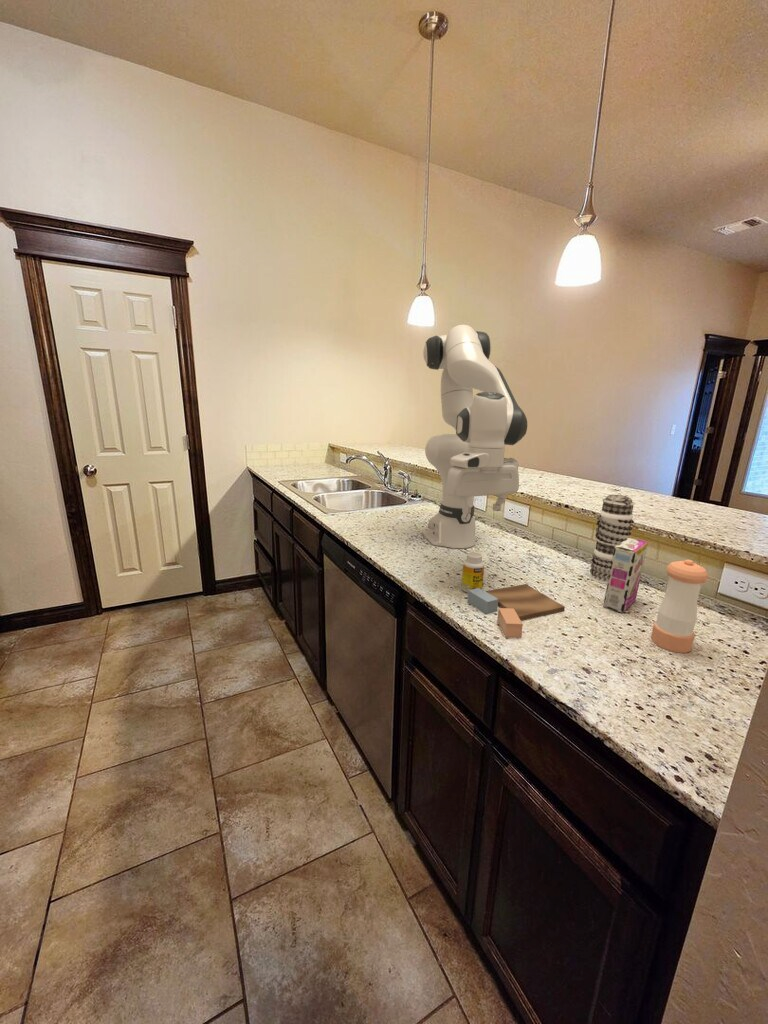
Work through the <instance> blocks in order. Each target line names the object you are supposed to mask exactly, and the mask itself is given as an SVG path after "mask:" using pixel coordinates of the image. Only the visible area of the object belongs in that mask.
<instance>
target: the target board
mask: <svg viewBox="0 0 768 1024" xmlns="http://www.w3.org/2000/svg"><path fill="white" fill-rule="evenodd" d="M484 591H485V592H487V593H489V594H491V595H492V596H494V597H496V598H498V608H513V609H514V610H515V612H516V613H517V615H518V617H519V618H520V620H521V621H525V620H530V619H534V618H538V617H542V616H543V617H544V616H548V615H552V614H557V613H561V612H565V609H566V607H565V605H564V604H563V605H562V604H561V603H559V602H558V601H556V600H554V599H552V598H550V597H549V596H547V594H544V593H542V592H541V591H539V590H537V589H535V588H534V587H532V586H530V585H529V584H527V583H523V584H518V585H511V586H507V587H500V588H495V589H490V590H489V589H488V590H484Z"/></svg>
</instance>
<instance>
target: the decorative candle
mask: <svg viewBox="0 0 768 1024" xmlns="http://www.w3.org/2000/svg"><path fill="white" fill-rule="evenodd" d="M634 505H636V503H635V502H633V499H632V498H631V497H630V496H628V495H623V494H609V495H607V496H606V497H605V498H602V508H601V510H600V513H599V515H598V516H597V518H596V519H597V521H596V525H597V527H596V529H595V531H596V532H595V534H594V536H595V538H594V539H595V541H596V543H595V547H594V549H593V550H594V551H593V554H592V555H591V556H592V559H591V562H592V563H591V564H590V569H589V575H588V576H589V579H591V580H592V581H595V582H597V583H599V584H604V585H607V584H608V578H609V573H610V568H611V563H612V558H613V553H614V547H615V546H616V545H618V544H620V543H621V542H623V541H624V540H626V539H627V538H628V537H629V536H631V535H632V532H630V531H632V530H633V527H632V526H631V525H632V524H634V523H635V521H634V520H633V518H634V517H633V509H634ZM630 524H631V525H630Z"/></svg>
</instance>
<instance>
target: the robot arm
mask: <svg viewBox="0 0 768 1024" xmlns="http://www.w3.org/2000/svg"><path fill="white" fill-rule="evenodd" d="M491 352H492V342H491V340H490V336H489V335H488V333H487V332H484V331H478V330H476V331H475V330H474V328H473V327H471V325H467V324H458V325H456V326H454V327H452V328H451V329H450V330H449V331H448V332H447V334H442V335H434V336H431V337H429V338H428V339H427V340H426V341H425V344H424V346H423V353H422V355H423V359H424V362H425V364H426V366H427V367H428V369H430V370H437V371H439V370H442V372H441V376H440V377H441V379H440V401H441V413H442V418H443V421H444V422H445V423H446V424H447V425H449V426H451V427H452V428H454V430H455V433H456V434H453V433H451V434H449V433H448V434H447V433H445V434H444V433H443V434H440V435H438V434H437V435H435V436H432V437H430V438H429V439H428V441H427V442H426V444H425V445H426V446H425V449H424V450H425V452H424V453H425V456H426V460H427V461H428V462H429V464H430V465H432V466H433V468H434V469H436V471H437V472H438V474H439V476H440V479H441V483H442V484H441V486H442V497H441V499H442V500H441V501H442V502H441V503H439V505H438V507H439V509H438V513H436V514H435V515H434V516H433V517H431V518H430V519H429V520H428V524H427V528H426V529H423V530H421V534H422V535H423V537H424V538H425V539H426V540H427V541H428V542H429V543H430V544H431V545H433V546H438V547H440V546H441V547H445V548H451V549H468V548H471V547H473V546H475V545H476V542H477V541H478V537H477V536H476V519H475V518H474V516H475V505H474V500H475V497H480V496H481V497H482V496H483V497H485V496H496V498H497V499H496V502H495V503H493V504H492V511H494V512H501V511H502V507H503V504H504V502H505V501H506V499H507V495H511V494H512V495H513V494H514V495H515V494H516V493H518V491H519V488H520V476H519V475H520V472H519V462H518V461H517V459H515V458H514V457H509V458H507V457H505V450H506V445H508V446H514V445H516V444H517V443H519V442H520V441H521V440H522V439H523V438H524V437H525V436H526V434H527V431H528V420H527V416H526V414H525V412H524V411H523V409H522V408H521V407H520V405H518V402H517V401H516V399H515V396H514V395H513V393H512V391H511V388H510V386H509V385H508V382H507V380H506V378H505V376H504V375H503V372H502V371H501V369H499V367H497V366H495V365H494V363H492V362H491V361H490V360H489V359H490V355H491ZM473 389H474V390H478V391H481V392H478V393H476V394H475V395H474V392H473Z"/></svg>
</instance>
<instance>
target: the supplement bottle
mask: <svg viewBox="0 0 768 1024" xmlns="http://www.w3.org/2000/svg"><path fill="white" fill-rule="evenodd" d="M462 564H463V565H462V575H461V576H462V577H461V590H462V591H463V592H465V593H467V594H468V590H472V589H476V588H480V589H482V590H483V582H484V574H485V573H484V572H485V563H484V561H483V555H482V554H481V553H479V552H476V551H475V552H474V551H473V552H468V553H467V554H466V558H465V560H464V561H463V563H462Z"/></svg>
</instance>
